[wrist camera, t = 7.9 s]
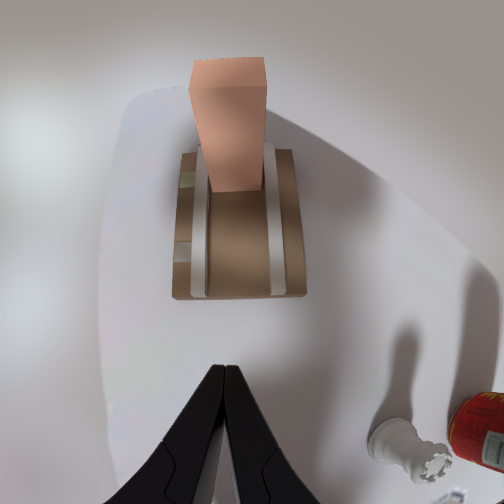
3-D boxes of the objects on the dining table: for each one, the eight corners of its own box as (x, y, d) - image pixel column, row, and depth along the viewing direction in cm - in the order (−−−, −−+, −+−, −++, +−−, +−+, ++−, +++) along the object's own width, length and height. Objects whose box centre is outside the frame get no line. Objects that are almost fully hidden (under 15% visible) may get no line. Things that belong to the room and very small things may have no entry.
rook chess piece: (416, 419, 18) (471, 438, 11) (397, 461, 17) (443, 493, 9) (377, 412, 19) (429, 436, 11) (357, 457, 17) (397, 497, 10)
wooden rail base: (303, 296, 22) (310, 290, 19) (177, 300, 22) (167, 294, 19) (289, 158, 26) (293, 141, 23) (185, 162, 26) (179, 145, 23)
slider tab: (261, 190, 23) (267, 86, 12) (212, 192, 23) (188, 90, 12) (259, 161, 24) (263, 57, 13) (213, 163, 24) (194, 60, 13)
